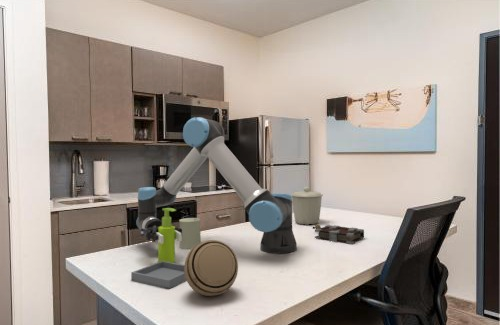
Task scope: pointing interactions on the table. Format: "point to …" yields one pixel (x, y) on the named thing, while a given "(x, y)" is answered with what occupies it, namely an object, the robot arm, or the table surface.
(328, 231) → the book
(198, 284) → the tan ball
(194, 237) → the can
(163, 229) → the soap dispenser
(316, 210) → the canister
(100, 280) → the table surface
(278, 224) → the robot arm
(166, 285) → the tray
